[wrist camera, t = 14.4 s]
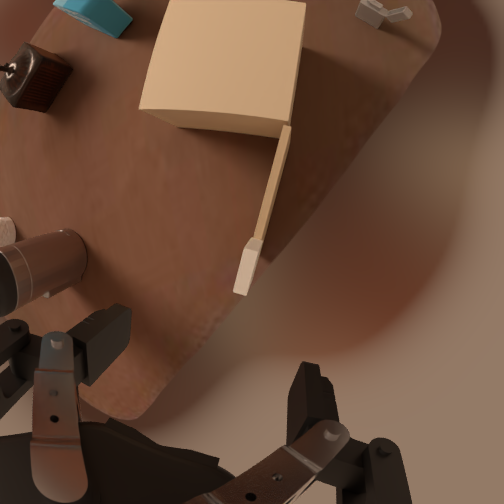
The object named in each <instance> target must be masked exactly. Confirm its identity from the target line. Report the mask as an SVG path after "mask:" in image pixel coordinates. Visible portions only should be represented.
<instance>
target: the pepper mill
mask: <svg viewBox="0 0 504 504" xmlns="http://www.w3.org/2000/svg"><path fill="white" fill-rule="evenodd" d="M0 71H4V72H5V73H4V76H3V78H2V79H1V81H0V90H1V91H2V93H3V95H4V96H5V98H6V99H7V100H8V102H9V103H10V104H11V105H12V106H13V107H15V108H22V109H28V110H34V111H39V112H43V113H45V112H46V111H47V110H48V108H49V107H50V105H51V104H52V102H53V101H54V99H55V97H56V96H57V94H58V93H59V91H60V89H61V88H62V86H63V85H64V83H65V81H66V80H67V78H68V77H69V75H70V74H71V72H72V71H73V69H72V68H71V66H70V65H69V64H67V63H66V62H65V61H64V60H63V59H61V58H60V57H59V56H58V55H56V54H54V53H50V52H48V51H46V50H43V49H41V48H39V47H36V46H34V45H31V44H29V43H27V42H24V43H23V45H22V46H21V48H20V49H19V51H18V52H17V54H16V55H15V56H14V57H13V58H12V60H11V61H10V63H9V64H8V63H6V64H5V65H4V66H0Z"/></svg>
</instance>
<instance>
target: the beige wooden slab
mask: <svg viewBox="0 0 504 504" xmlns="http://www.w3.org/2000/svg"><path fill="white" fill-rule="evenodd" d="M290 138H291V127H290V126H286V125H283V128H282V132H281V136H280V140H279V143H278V147H277V151H276V154H275V158H274V162H273V166H272V169H271V173H270V177H269V181H268V184H267V188H266V192H265V196H264V199H263V203H262V207H261V211H260V214H259V218H258V222H257V226H256V229H255V233H254V237H253V238H252V237H251V239H250V240H249V242H248V243H247V244H246V246H245V247H244V251H243V254H242V258H241V262H240V266H239V270H238V274H237V278H236V282H235V285H234V289H233V292H235V293H238V294H241V295H245V296H246V295H247V293H248V290H249V287H250V284H251V282H252V279H253V276H254V272H255V268H256V265H257V262H258V259H259V256H260V253H261V249H262V246H263V242H264V238H265V235H266V231H267V227H268V224H269V220H270V216H271V213H272V209H273V205H274V202H275V198H276V194H277V191H278V187H279V183H280V179H281V176H282V172H283V168H284V165H285V161H286V157H287V153H288V150H289V146H290Z"/></svg>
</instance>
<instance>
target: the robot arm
mask: <svg viewBox="0 0 504 504" xmlns="http://www.w3.org/2000/svg"><path fill="white" fill-rule="evenodd" d="M86 264H87V253H86V249H85V245H84V243H83V241H82V239H81V238H80V236H79V235H78V234H77V233H76V232H74V231H73V230H70V229H63V230H58V231H55V232H51V233H47V234H44V235H40V236H36V237H33V238H29V239H26V240H22V241H19V242H16V243H12V244H9V245H6V246H3V247H0V317H4V316H6V315H8V314H9V313H11V312H13V311H15V310H17V309H18V308H20V307H22V306H24V305H26V304H28V303H29V302H31V301H33V300H35V299H37V298H39V297H41V296H43V297H45V298H50V297H52V296H54V295H56V294H57V293H59V292H61V291H63V290H65V289H67V288H69V287H71V286H72V285H74V284H76V283H78V282H80V281H81V276H82V274H83V272H84V271H85V268H86ZM131 315H132V311H131V309H130V308H127V307H125V306H122V305H120V304H117V303H116V304H114V305H113V306H111V307H110V308H109V309H107V310H105V309H102V310H99V311H96V312H94V313H92V314H91V315H89V316H88V318H85V319H84V320H83V321H81V322H80V323H78V324H77V325H76V326H74V327H73V328H72V329H70V330H69V331H67V332H66V333H64V332H59V331H54V332H49V333H47V334H45V335H44V336H43V337H40V336H37V335H34V334H30V332H29V326H28V324H27V323H26V322H25V321H23V320H19V319H11V320H8V321H6V322H4V323H3V324H1V325H0V366H1V365H2V364H4V363H5V362H6V361H7V360H8V361H9V364H10V365H9V366H8V367H7V368H6V369H5V370H4V371H2V372H1V373H0V419H1V418H2V417H3V416H4V415H5V414H6V413H7V412H8V411H9V410H10V408H11V407H12V406H13V405H14V404H15V403H16V402H17V401H18V400H19V399H20V398H21V397H22V396H23V395H24V394H25V393H26V392H27V391H28V390H29V389H30V388H31V387H32V386H33V406H32V432H28V433H21V434H15V435H8V436H0V504H292V503H294V502H295V501H296V500H297V499H298V498H299V497H300V496H301V495H302V494H303V493H304V492H306V491H307V490H308V489H309V488H310V487H311V486H312V485H313V484H314V483H315V482H316V481H317V480H318V481H321V482H323V483H326V484H329V485H332V486H335V487H336V501H337V502H336V503H337V504H412V500H411V495H410V491H409V486H408V482H407V477H406V473H405V469H404V465H403V461H402V457H401V453H400V450H399V448H398V446H397V445H396V444H395V443H394V442H392V441H391V440H389V439H386V438H376V439H373V440H372V441H371V442H370V443H369V444H366V443H363V442H360V441H357V440H355V439H352V438H351V437H350V434H349V431H348V429H347V428H346V427H345V426H344V425H343V424H341V423H340V422H339V416H338V411H337V405H336V401H335V395H334V389H333V385H332V384H331V382H330V381H329V380H328V378H327V377H322V376H321V374H320V367H319V365H318V364H313V363H309V362H304V361H303V362H302V363H301V364H300V367H299V369H298V372H297V374H296V376H295V379H294V381H293V383H292V386H291V388H290V391H289V395H288V408H287V409H288V410H287V439H286V445H284V446H282V447H280V448H279V449H277V450H276V451H275V452H273V453H272V454H270V455H269V456H268V457H266V458H265V459H263V460H262V461H260V462H259V463H257V464H256V465H255V466H253V467H252V468H250V469H248V470H247V471H245V472H244V473H242V474H241V475H239V476H238V477H235V476H234V475H232V474H231V473H230V472H228V471H227V470H225V469H223V468H221V467H220V466H218V462H219V458H217V457H213V456H209V455H206V454H203V453H199V452H196V451H193V450H188V449H180V448H173V447H166V446H161V445H159V444H156V443H155V442H153V441H152V440H151V439H149V438H147V437H146V436H144V435H143V434H141V433H140V432H138V431H137V430H136V429H134V428H132V427H129V426H127V425H125V424H123V423H121V422H118V421H116V420H114V419H112V418H109V419H108V421H107V422H106V424H104V423H99V422H82V416H81V409H80V400H79V390H78V385H79V384H80V383H81V382H82V383H84V384H86V385H88V386H89V387H90V386H91V385H92V384H93V383H94V382H95V381H96V380H97V379H98V377H99V376H100V375H101V374H102V373H103V372H104V371H105V370H106V369H107V368H108V367H109V366H110V364H111V363H112V362H113V361H114V360H115V359H116V358H117V357H118V356H119V355H120V354H121V353H122V352H123V351H124V350H125V348H126V347H127V345H128V343H129V340H130V329H131Z"/></svg>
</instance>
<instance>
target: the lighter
mask: <svg viewBox="0 0 504 504" xmlns="http://www.w3.org/2000/svg"><path fill="white" fill-rule="evenodd" d="M382 6H383V5H382V4H381V3H379V2H377V1H376V0H361V2H360V4H359V6H358V9H357V11H356V14H355V16H356V17H358V18H359V19H361V20H363V21H365V22H366V23H368V24H370V25H371V26H373V27H375V28H376V29H378V28H379V26H380V25H381V23H382V22H383V20H384V18H385V17H386V18H387V19H388V20H389V21H390V22H391V23H392V22H397V21H401V20H406V19H409V18H410V17H411V16H412V14H413V13H412V12H411V11H410V9H409V8H408V7H407V6H405V7H401V8H397V9H394V10H390V11H388V10H387V9H385V8H383V7H382Z"/></svg>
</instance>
